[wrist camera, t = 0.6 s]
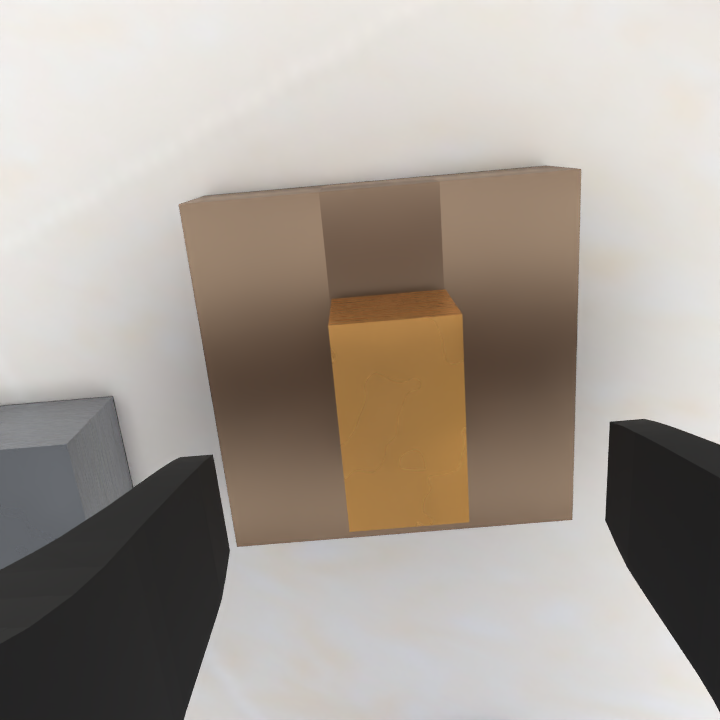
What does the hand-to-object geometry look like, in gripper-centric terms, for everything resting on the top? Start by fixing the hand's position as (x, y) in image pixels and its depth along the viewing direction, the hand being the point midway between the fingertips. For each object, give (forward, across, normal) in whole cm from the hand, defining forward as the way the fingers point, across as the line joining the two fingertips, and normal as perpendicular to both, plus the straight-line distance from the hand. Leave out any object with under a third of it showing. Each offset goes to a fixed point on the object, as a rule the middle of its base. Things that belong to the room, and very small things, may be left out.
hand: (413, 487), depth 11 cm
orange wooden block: (+9, 0, 0) cm, 9 cm away
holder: (+9, 0, 0) cm, 9 cm away
